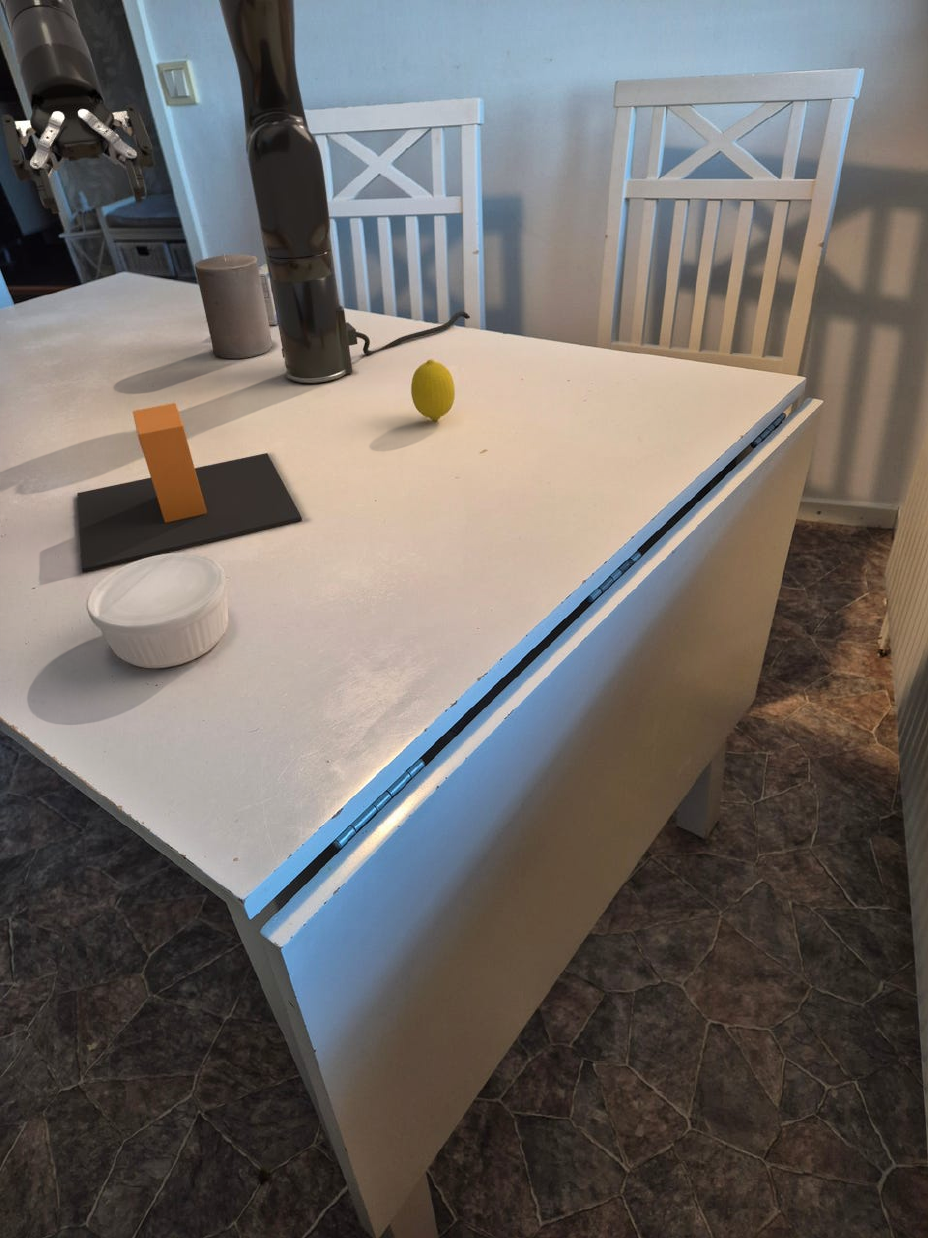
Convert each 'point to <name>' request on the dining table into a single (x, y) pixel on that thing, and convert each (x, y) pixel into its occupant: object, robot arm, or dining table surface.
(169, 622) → the ramekin
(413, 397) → the lemon
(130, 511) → the mat
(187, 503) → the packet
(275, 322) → the medicine box
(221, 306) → the pillar candle
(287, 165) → the robot arm
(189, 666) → the dining table surface
